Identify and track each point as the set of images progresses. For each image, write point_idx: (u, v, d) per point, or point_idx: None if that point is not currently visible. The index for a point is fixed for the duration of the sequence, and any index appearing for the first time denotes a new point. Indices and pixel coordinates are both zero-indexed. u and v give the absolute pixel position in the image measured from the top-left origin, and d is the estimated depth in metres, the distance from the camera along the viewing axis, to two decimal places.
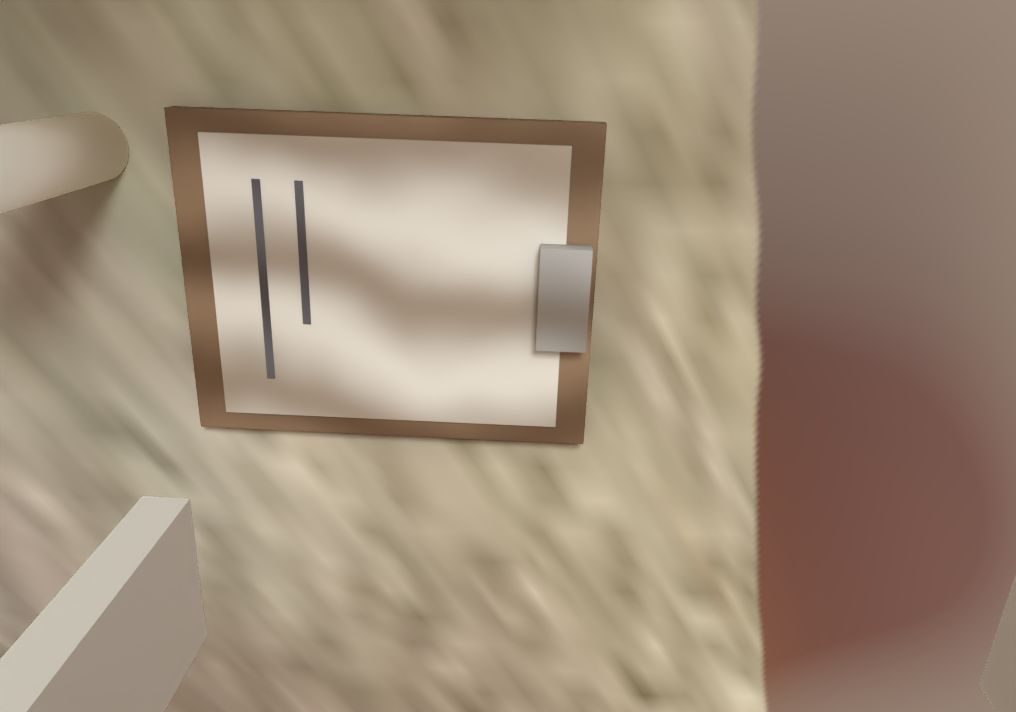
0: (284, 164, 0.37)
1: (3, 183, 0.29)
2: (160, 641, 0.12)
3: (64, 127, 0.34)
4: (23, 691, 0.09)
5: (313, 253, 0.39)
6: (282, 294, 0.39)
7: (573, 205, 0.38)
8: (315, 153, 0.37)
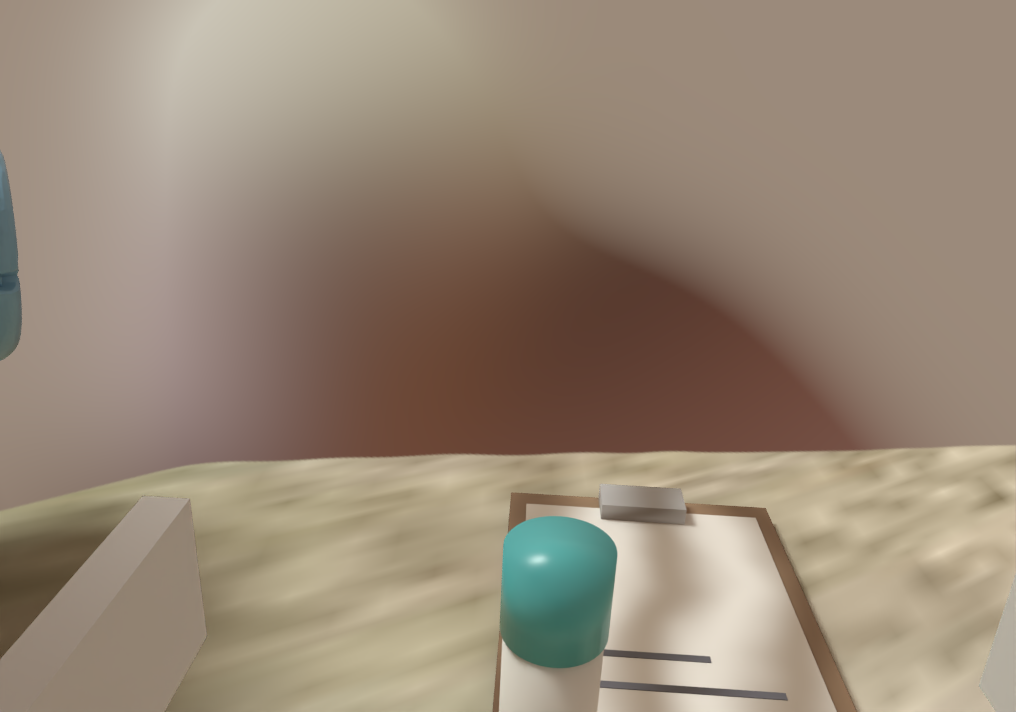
0: None
1: None
2: (160, 641, 0.12)
3: None
4: (23, 691, 0.09)
5: (633, 647, 0.39)
6: (683, 676, 0.37)
7: (570, 507, 0.50)
8: None
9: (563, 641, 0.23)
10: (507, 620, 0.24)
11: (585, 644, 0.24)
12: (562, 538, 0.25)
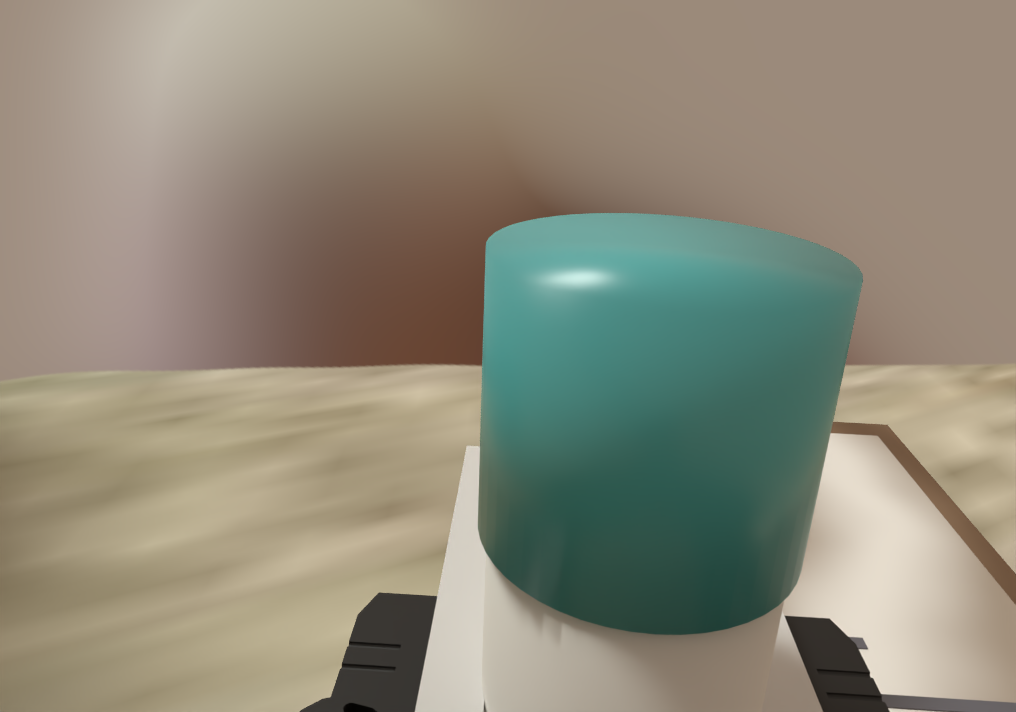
0: None
1: None
2: None
3: None
4: (478, 589, 0.11)
5: None
6: None
7: None
8: None
9: (692, 540, 0.07)
10: (499, 486, 0.08)
11: (761, 554, 0.07)
12: (667, 239, 0.08)
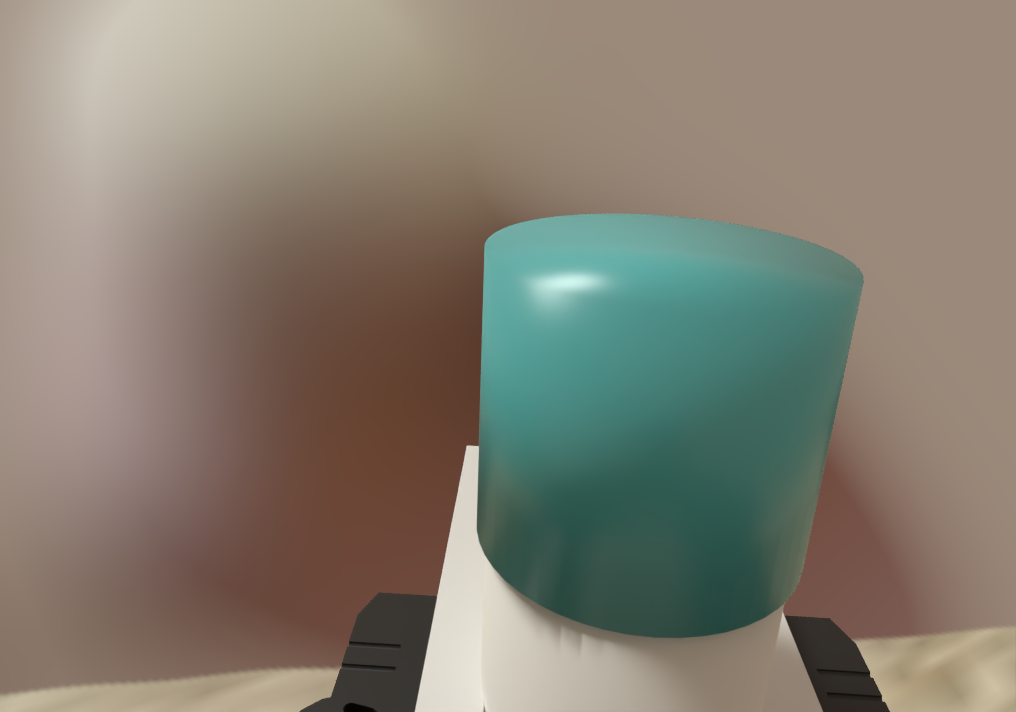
0: None
1: None
2: None
3: None
4: (478, 589, 0.11)
5: None
6: None
7: None
8: None
9: (691, 543, 0.07)
10: (498, 488, 0.08)
11: (761, 557, 0.07)
12: (667, 240, 0.08)
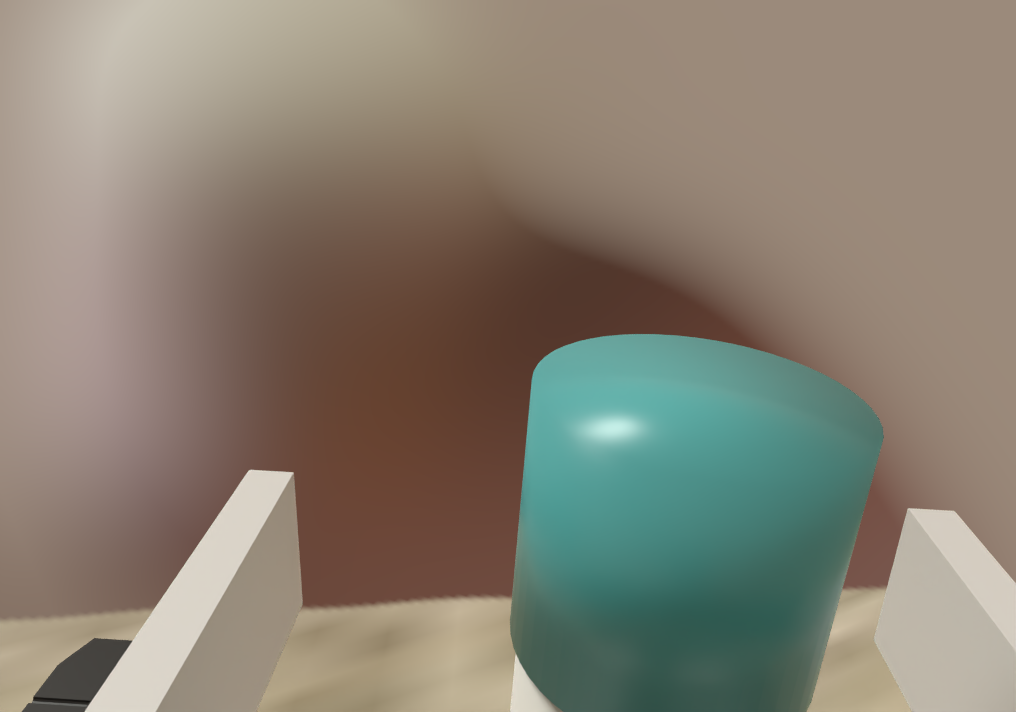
0: None
1: None
2: (272, 604, 0.13)
3: None
4: (180, 638, 0.10)
5: None
6: None
7: None
8: None
9: (720, 676, 0.07)
10: (538, 608, 0.08)
11: (782, 686, 0.08)
12: (699, 375, 0.09)
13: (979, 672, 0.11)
